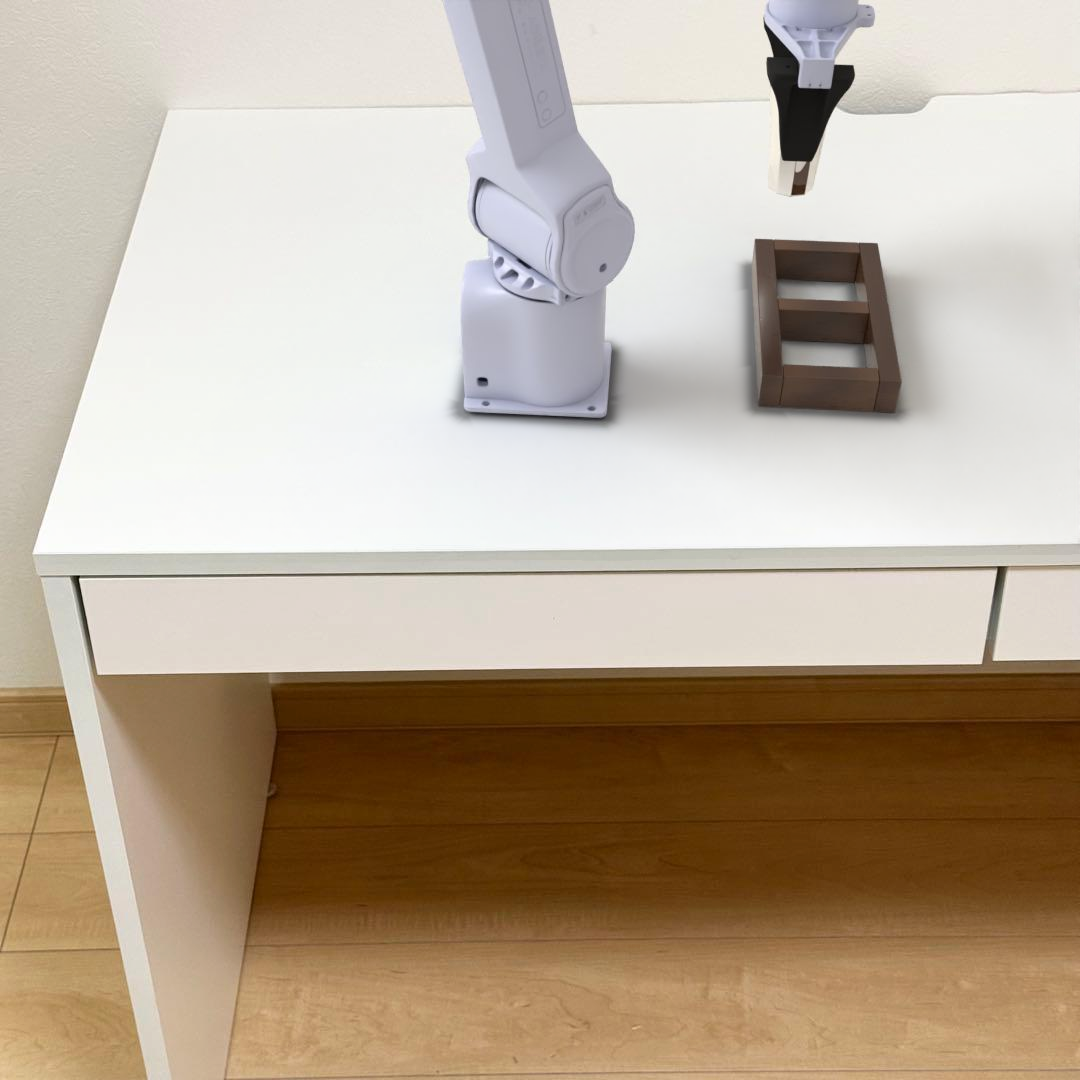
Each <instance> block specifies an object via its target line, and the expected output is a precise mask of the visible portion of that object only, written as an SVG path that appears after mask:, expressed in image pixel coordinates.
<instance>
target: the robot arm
mask: <svg viewBox="0 0 1080 1080" xmlns="http://www.w3.org/2000/svg"><path fill="white" fill-rule="evenodd" d="M442 3H443V7H444V10H445V14H446V18H447V22H448V25H449V28H450V31H451V35H452V38H453V41H454V45H455V48H456V52H457V55H458V57H459V62H460V65H461V70H462V73H463V75H464V79H465V83H466V86H467V89H468V93H469V96H470V100H471V103H472V106H473V109H474V113H475V116H476V120H477V123H478V127H479V129H480V134H481V137H480V138H479V139H478V140H477V141H476V142H475V143H474V145H472V147H471V148H470V149H469V151H468V152H467V153H466V154H465V157H464V158H465V159H464V160H465V162H466V165H467V169H468V173H469V189H468V196H467V214H468V218H469V221H470V223H471V225H472V227H473V228H474V229H475V231H476V232H477V233H478V234H480V236H481V235H482V237H485V238H487V256H488V257H486V258H481V259H471V260H467V261H466V263H465V265H464V269H463V274H462V281H461V292H460V293H461V294H460V338H461V359H462V371H463V373H462V374H463V388H464V398H463V409H464V410H465V411H466V412H469V413H486V414H487V413H488V414H490V413H491V414H511V415H514V414H515V415H529V416H532V415H533V416H552V417H553V416H554V417H555V416H556V417H575V418H576V417H577V418H596V419H597V418H598V419H599V418H604V417H606V416H607V413H608V401H609V389H610V377H611V376H610V374H611V361H612V348H613V346H612V343H610V342H609V341H605V337H606V311H607V310H606V309H607V307H606V306H607V286H608V285H609V284H612V282H614V280H615V279H616V278H617V277H618V275H619V274H620V273H621V272H622V270H623V268H624V267H625V266H626V264H627V262H628V259H629V258H630V255H631V252H632V248H633V245H634V242H635V235H636V234H635V233H636V226H635V225H636V224H635V220H634V216H633V213H632V212H631V210H630V208H629V207H628V206H627V205H626V204H625V203H624V202H623V201H621V200H620V199H619V197H618V196H617V193H616V191H615V188H614V182H613V178H612V176H611V174H610V172H609V171H608V170H607V168H606V166H605V165H604V164H603V162H602V161H601V160H600V158H599V157H598V156H597V154H595V152H594V151H593V150H592V148H591V147H590V146H589V144H588V143H587V141H586V140H585V139H584V137H582V135H581V133H580V132H579V129H578V124H577V120H576V116H575V111H574V107H573V103H572V98H571V94H570V89H569V85H568V81H567V80H568V79H567V76H566V75H567V74H566V71H565V67H564V62H563V58H562V53H561V49H560V45H559V44H560V43H559V40H558V36H557V35H558V34H557V30H556V26H555V22H554V18H553V14H552V13H553V12H552V8H551V4H550V0H442ZM764 7H765V8H764V14H763V18H762V19H763V28H764V31H765V34H766V36H767V38H768V41H769V45H770V49H771V51H772V56H767V57H766V61H765V65H766V75H767V80H768V82H769V86H770V85H771V87H772V89H773V92H774V95H775V98H776V101H777V106H778V113H779V139H780V150H781V156H782V160H783V161H799V162H811V161H812V160H813V158H814V156H815V154H816V152H817V150H818V147H819V145H820V142H821V139H822V137H823V134H824V131H825V128H826V126H827V127H828V125H827V123H828V124H829V121H830V119H831V117H832V115H833V112H834V110H835V109H836V107H837V105H838V104H839V102H840V101H841V100H842V98H843V97H844V96H845V94H846V93H847V92H848V91H849V90H850V89H851V87H852V85H853V83H854V81H855V78H856V72H855V66H854V64H837V63H835V62H836V59H837V57H838V55H839V54H840V53H841V51H842V49H844V47H845V46H846V44H847V43H848V41H849V40H850V38H851V37H852V35H853V34H854V32H855V31H856V30H857V29H860V28H871V27H873V26H874V24H875V21H876V20H875V19H876V11H875V9H874V7H873V6H872V5H870V4H862V3H861V4H859V0H768V1H767V2H766V4H765V6H764Z"/></svg>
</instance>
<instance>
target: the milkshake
mask: <svg viewBox="0 0 1080 1080" xmlns="http://www.w3.org/2000/svg"><path fill="white" fill-rule="evenodd" d="M769 116H770V117H769V118H770V119H769V120H770V122H769V123H770V125H769V145H768V146H769V147H768V148H769V150H768V168H767V169H768V172H767V185H768V186H767V187H768V189H769V190H771V191H772V192H774V193H775V194H776V195H780V196H785V197H789V198H792V197H801V196H805V195H807V194H808V193H809V192H812V191H813V189H814V185H815V181H816V176H817V172H818V168H819V163H820V159H821V154H822V150H823V145H824V142H825V137H826V134H827V129H828V125H829V122H828V123H827V126H826V128H825V131H824V134H823V137H822V139H821V142H820V145H819V147H818V150H817V152H816V154H815V156H814V158H813V160H812V161H811V162H799V161H783V160H782V156H781V150H780V139H779V113H778V106H777V101H776V98H775V95H774V92H773V89H772V87H771V85H770V84H769Z"/></svg>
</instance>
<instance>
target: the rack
mask: <svg viewBox="0 0 1080 1080" xmlns="http://www.w3.org/2000/svg"><path fill="white" fill-rule="evenodd" d="M753 241H754V242H753V250H752V260H751V267H750V269H751V288H752V289H751V291H752V309H753V312H752V313H753V328H754V329H753V330H754V351H755V370H756V390H757V406H758V407H765V408H787V409H790V408H791V409H807V410H810V409H811V410H831V411H832V410H833V411H852V412H853V411H854V412H874V413H891V414H892V413H896V410H897V404H898V400H899V396H900V391H901V387H902V382H903V381H902V376H901V371H900V370H901V369H900V364H899V358H898V353H897V352H898V351H897V346H896V340H895V336H894V329H893V323H892V317H891V311H890V306H889V300H888V293H887V289H886V283H885V278H884V271H883V266H882V260H881V254H880V248H879V243H878V242H857V241H853V242H852V241H831V240H829V241H828V240H806V239H805V240H803V239H801V240H800V239H777V238H775V239H773V238H754V240H753ZM777 280H789V281H791V280H792V281H815V282H842V283H854V285H855V292H856V299H857V300H855V301H854V300H833V299H813V298H812V299H810V298H809V299H808V298H788V297H787V298H785V297H779V293H778V282H777ZM782 341H798V342H799V341H800V342H803V341H804V342H824V343H847V344H848V343H849V344H863V347H864V353H865V361H866V367H855V366H829V365H810V364H809V365H807V364H785V363H783V350H782V349H783V348H782Z"/></svg>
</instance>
